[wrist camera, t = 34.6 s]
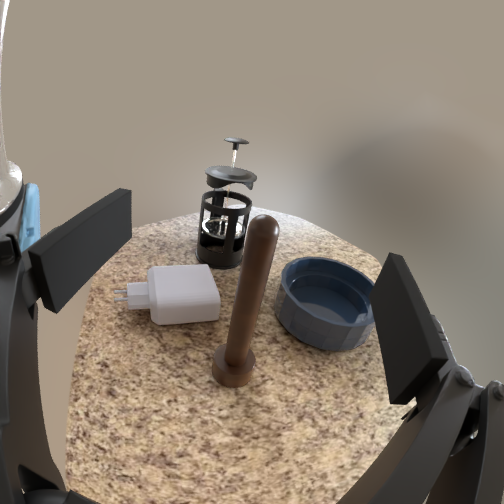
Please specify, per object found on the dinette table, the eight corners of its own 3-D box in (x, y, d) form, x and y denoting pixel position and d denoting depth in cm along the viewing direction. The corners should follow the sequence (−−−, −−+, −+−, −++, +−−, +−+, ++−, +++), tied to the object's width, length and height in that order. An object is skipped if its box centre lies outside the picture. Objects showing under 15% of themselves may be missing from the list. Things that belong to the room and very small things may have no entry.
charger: (116, 288, 43) (204, 284, 48) (115, 330, 35) (218, 323, 41) (113, 264, 40) (207, 261, 46) (110, 306, 33) (221, 299, 39)
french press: (250, 270, 54) (276, 148, 43) (201, 273, 51) (217, 142, 39) (231, 238, 63) (250, 134, 52) (189, 240, 60) (201, 130, 48)
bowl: (255, 326, 42) (263, 296, 39) (291, 272, 56) (299, 246, 53) (362, 369, 37) (381, 342, 34) (372, 304, 51) (385, 279, 48)
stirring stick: (204, 376, 33) (224, 215, 22) (223, 351, 37) (251, 199, 26) (240, 394, 31) (286, 237, 20) (257, 367, 35) (303, 216, 25)
